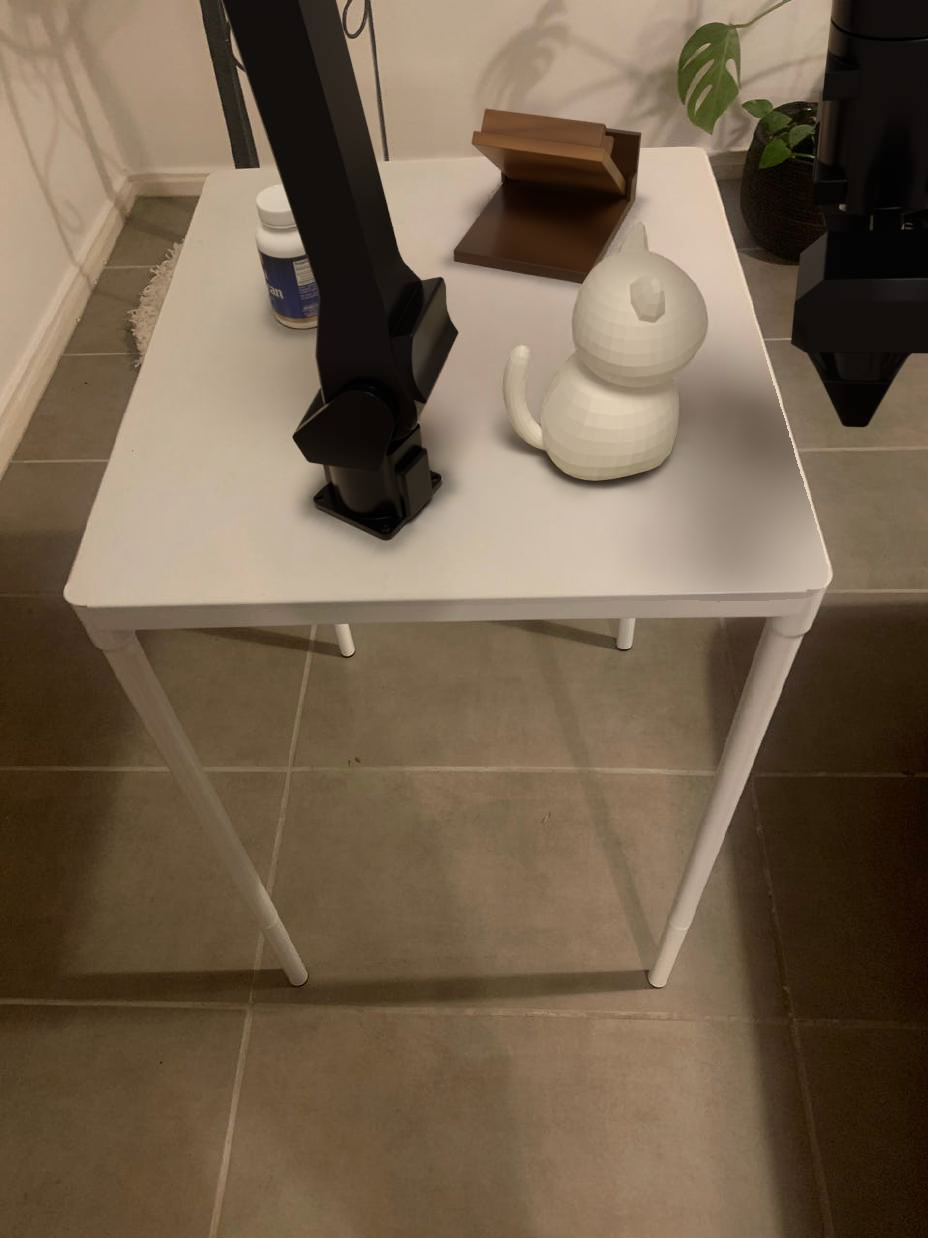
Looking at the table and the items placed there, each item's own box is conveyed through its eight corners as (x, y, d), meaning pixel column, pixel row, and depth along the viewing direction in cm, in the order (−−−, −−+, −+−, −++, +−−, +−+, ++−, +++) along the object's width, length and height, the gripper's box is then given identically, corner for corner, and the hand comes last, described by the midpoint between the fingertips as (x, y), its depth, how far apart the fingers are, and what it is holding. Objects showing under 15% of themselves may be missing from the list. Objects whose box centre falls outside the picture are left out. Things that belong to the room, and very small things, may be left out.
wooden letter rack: (602, 161, 73) (610, 122, 72) (470, 143, 76) (477, 105, 75) (625, 195, 83) (633, 162, 82) (509, 178, 86) (515, 145, 85)
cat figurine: (698, 491, 62) (738, 289, 50) (510, 506, 62) (505, 308, 50) (672, 403, 67) (703, 203, 56) (499, 417, 67) (493, 220, 56)
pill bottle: (262, 309, 77) (232, 195, 70) (317, 284, 79) (294, 170, 72) (296, 339, 75) (268, 223, 67) (352, 312, 76) (332, 196, 69)
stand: (589, 285, 77) (593, 215, 72) (452, 260, 80) (448, 192, 76) (636, 199, 85) (642, 132, 80) (510, 181, 88) (509, 114, 83)
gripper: (1229, 108, 26) (1064, 507, 38) (1135, -107, 37) (1029, 256, 49) (809, 133, 30) (777, 492, 42) (834, -70, 41) (803, 261, 52)
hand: (857, 363), depth 46 cm, fingers open, 9 cm apart
